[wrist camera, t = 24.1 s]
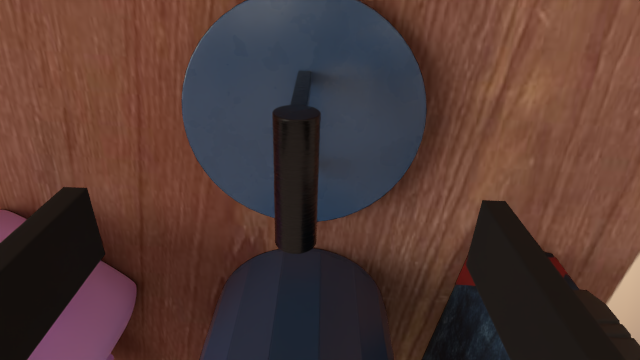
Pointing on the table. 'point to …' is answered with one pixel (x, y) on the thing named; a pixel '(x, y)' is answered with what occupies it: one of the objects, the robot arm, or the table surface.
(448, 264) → the table surface
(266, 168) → the lid
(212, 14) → the table surface
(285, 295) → the pot
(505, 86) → the table surface
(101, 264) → the teakettle
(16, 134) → the table surface
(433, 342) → the book
